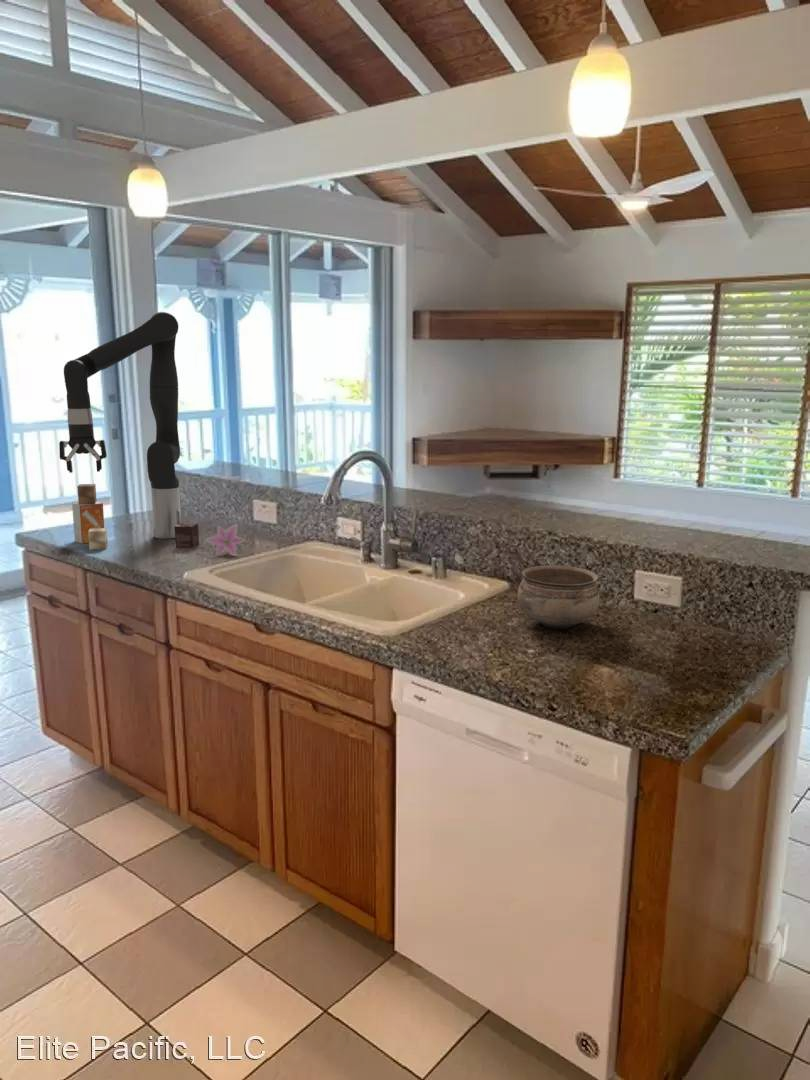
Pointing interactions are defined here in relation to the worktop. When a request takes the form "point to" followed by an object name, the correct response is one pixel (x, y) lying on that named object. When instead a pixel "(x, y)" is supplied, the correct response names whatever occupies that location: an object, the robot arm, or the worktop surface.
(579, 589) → the cooking pot
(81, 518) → the small box
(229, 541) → the lily
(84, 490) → the walnut block
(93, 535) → the maple block
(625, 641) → the worktop surface
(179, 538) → the box
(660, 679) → the worktop surface
